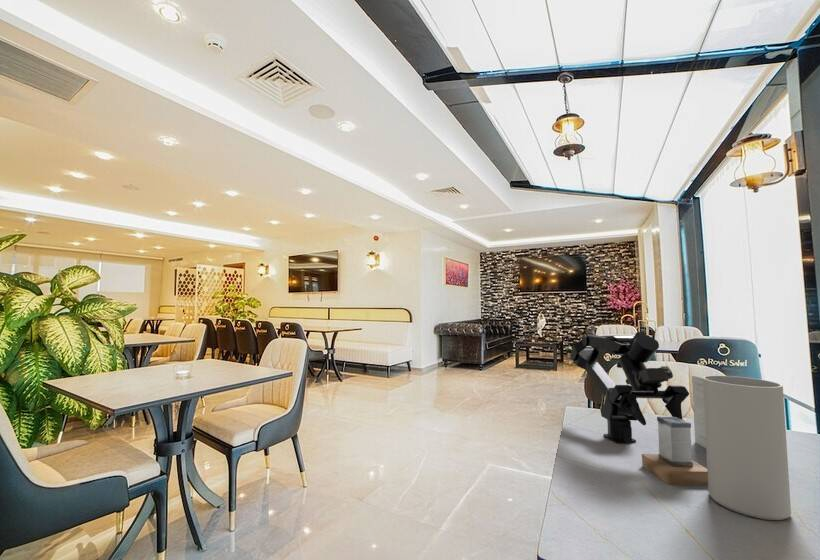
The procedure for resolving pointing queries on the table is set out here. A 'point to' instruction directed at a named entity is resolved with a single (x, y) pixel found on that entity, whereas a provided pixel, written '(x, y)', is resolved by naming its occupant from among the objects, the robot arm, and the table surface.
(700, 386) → the hard drive box
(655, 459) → the stand
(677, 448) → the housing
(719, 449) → the cylinder vase
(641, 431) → the table surface
